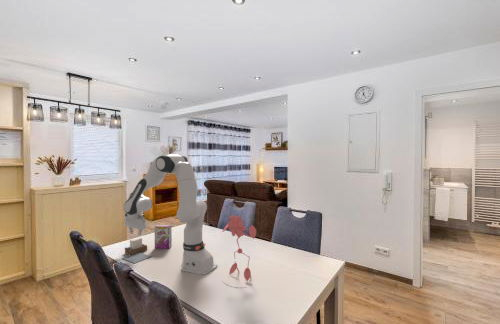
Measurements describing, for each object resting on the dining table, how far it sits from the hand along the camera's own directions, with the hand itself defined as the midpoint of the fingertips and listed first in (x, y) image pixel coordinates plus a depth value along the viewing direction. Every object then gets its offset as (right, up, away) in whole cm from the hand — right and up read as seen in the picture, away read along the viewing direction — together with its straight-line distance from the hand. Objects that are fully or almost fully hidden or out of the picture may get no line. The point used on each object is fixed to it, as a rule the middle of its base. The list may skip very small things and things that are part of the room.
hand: (135, 234), depth 167 cm
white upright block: (+1, -13, 0) cm, 13 cm away
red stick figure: (+74, -13, -39) cm, 84 cm away
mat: (+6, -13, -10) cm, 17 cm away
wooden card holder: (+1, -13, 0) cm, 13 cm away
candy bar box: (+17, -13, +8) cm, 22 cm away
